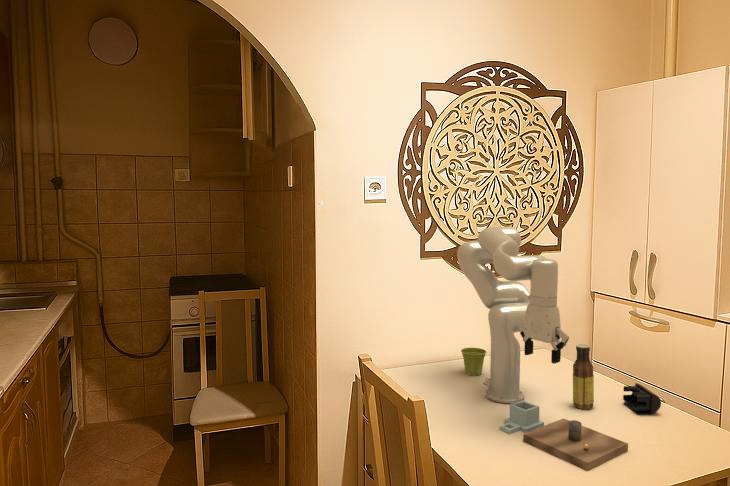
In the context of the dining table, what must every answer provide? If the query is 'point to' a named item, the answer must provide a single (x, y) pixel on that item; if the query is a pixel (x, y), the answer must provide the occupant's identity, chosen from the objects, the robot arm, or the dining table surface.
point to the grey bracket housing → (522, 418)
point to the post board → (575, 443)
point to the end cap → (641, 400)
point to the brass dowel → (586, 446)
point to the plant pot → (473, 360)
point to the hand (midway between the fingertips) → (541, 358)
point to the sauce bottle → (583, 379)
